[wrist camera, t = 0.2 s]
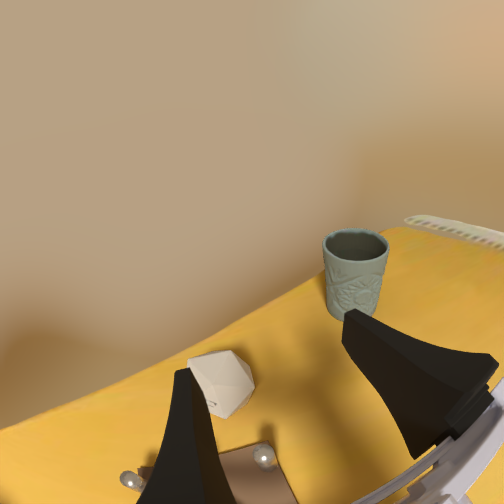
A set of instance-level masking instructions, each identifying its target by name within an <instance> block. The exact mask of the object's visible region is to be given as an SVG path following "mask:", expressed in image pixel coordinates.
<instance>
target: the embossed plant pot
mask: <svg viewBox="0 0 504 504" xmlns="http://www.w3.org/2000/svg"><path fill="white" fill-rule="evenodd" d="M322 247H323V258H324V263H325V277H326V279H325V281H326V285H327V286H326V292H327V293H326V301H327V308H328V311H329V313H330V314H331V315H332V316H333V317H334V318H336V319H338V320H340V321H343V322H344V313H345V312H348V311H350V310H352V309H354V308H356V309H358V310H359V311H361V312H363V313H365V314H367V315H369V316H372V315H373V313H374V311H375V309H376V306H377V302H378V298H379V293H380V289H381V285H382V276H383V274H384V272H385V266H386V263H387V258H388V254H389V243H388V241H387V240H386V239H385V238H384V237H383V236H382V235H380V234H378V233H376V232H374V231H371V230H367V229H360V228H347V229H341V230H338V231H334V232H332V233H330V234H328V235H327V236H326V237H325V238H324V240H323V243H322Z"/></svg>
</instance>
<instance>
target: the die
mask: <svg viewBox="0 0 504 504" xmlns="http://www.w3.org/2000/svg"><path fill="white" fill-rule="evenodd" d="M189 367H190V369H191V371H192V373H193V374H194V376H195V378H196V380H197V382H198V384H199V385H200V387H201V389H202V391H203V393H204V396H205V399H206V402H207V406H208V409H209V412H210V413H212V414H214V415H216V416H219V417H221V418H224V419H227V418H228V417H230V416H231V415H232V414H234V413H235V412H237V411H238V410H239V409H241V408H242V407H243V406H245V405H246V404H247V403H248V401H249V399H250V397H251V395H252V393H253V390H254V388H255V385H254V381H253V377H252V373H251V370H250V366H249V365H248V364H247V363H245V362H244V361H243V360H242V359H241V358H239V357H238V356H237V355H236V354H235V353H233V352H232V351H231V350H225V351H212V352H209V353H206V354H203V355H199V356H196V357H193V358H190V359H188V362H187V368H189Z"/></svg>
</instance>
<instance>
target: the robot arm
mask: <svg viewBox="0 0 504 504" xmlns="http://www.w3.org/2000/svg"><path fill="white" fill-rule="evenodd" d="M342 344H343V346H344V347H345V349H346V351H347V352H348V354H349V356H350V357H351V359H352V360H353V361H354V363H355V364H356V365H357V367H358V368H359V369H360V370H361V372H362V373H363V374H364V375H365V377H366V378H367V379H368V380H369V382H370V383H371V384H372V385H373V387H374V388H375V389H376V390H377V392H378V393H379V394H380V396H381V397H382V399H383V401H384V402H385V404H386V406H387V407H388V409H389V411H390V413H391V414H392V416H393V418H394V420H395V422H396V424H397V426H398V428H399V430H400V432H401V434H402V436H403V438H404V440H405V443H406V445H407V447H408V450H409V453H410V455H411V456H412V458H413V459H414V460H415V459H417V458H418V457H419V456H421V455H422V454H423V453H425V452H426V451H427V450H428V449H430V448H431V447H432V446H433V445H434V444H435V445H436V446H437V447H436V448H435V449H434V450H432V451H431V452H430V453H429V454H427V455H426V456H425V457H424V458H422V459H421V460H420V461H418V462H417V463H416V464H414V465H413V466H412V467H410V468H409V469H407V470H406V471H405V472H403V473H402V474H400V475H399V476H397V477H396V478H394V479H393V480H391V481H390V482H388V483H386V484H385V485H383V486H381V487H380V488H378V489H376V490H375V491H373V492H371V493H370V494H368V495H366V496H364V497H362V498H360V499H359V500H357V501H355V502H353V503H351V504H376V503H378V502H380V501H382V500H383V499H385V498H386V497H388V496H390V495H391V494H393V493H394V492H396V491H397V490H399V489H400V488H402V487H403V486H405V485H406V484H408V483H409V482H410V481H412V480H413V479H415V478H416V477H417V476H419V475H420V474H421V473H423V472H424V471H425V470H426V469H428V468H429V467H430V466H432V465H433V469H432V470H430V471H429V472H428V473H426V474H425V475H423V476H422V477H420V478H419V479H418V480H416V481H415V482H414V483H413V484H411V485H410V486H409V487H408V488H407V490H408V492H409V494H407V495H406V496H404V497H403V498H401V499H400V500H398V501H397V502H395V503H393V504H473V503H472V502H471V500H470V499H469V498H468V496H467V495H466V494H465V493H466V492H467V491H468V489H469V488H470V487H471V486H472V485H473V483H474V482H475V481H476V480H477V479H478V477H479V476H480V475H481V473H482V472H483V471H484V470H485V468H486V467H487V466H488V464H489V463H490V461H491V460H492V459H493V457H494V456H495V454H496V453H497V451H498V450H499V448H500V447H501V445H502V444H503V442H504V377H502V379H501V380H500V381H499V383H498V384H497V385H496V386H495V388H494V389H493V390H492V391H491V392H490V393H489V392H488V391H487V390H488V389H489V386H488V385H487V384H486V383H487V382H488V380H489V379H490V378H491V376H492V375H493V374H494V372H495V371H496V369H497V368H498V366H499V363H498V362H497V361H496V360H495V359H494V358H493V357H492V356H491V355H490V354H487V353H470V352H463V351H457V350H451V349H447V348H443V347H439V346H436V345H432V344H429V343H426V342H423V341H421V340H418V339H415V338H413V337H411V336H408V335H406V334H404V333H402V332H400V331H397V330H395V329H393V328H391V327H389V326H387V325H385V324H384V323H382V322H380V321H378V320H376V319H374V318H372V317H371V316H369V315H367V314H365V313H363V312H361V311H359V310H358V309H356V308H354V309H352V310H350V311H348V312H345V313H344V322H343V332H342ZM136 504H237V502H236V500H235V498H234V495H233V493H232V491H231V488H230V486H229V483H228V481H227V478H226V476H225V473H224V470H223V467H222V465H221V462H220V458H219V455H218V451H217V446H216V441H215V437H214V432H213V427H212V422H211V417H210V412H209V409H208V406H207V402H206V399H205V396H204V393H203V391H202V389H201V387H200V385H199V384H198V382H197V380H196V378H195V376H194V374H193V373H192V371H191V369H190V367H189V368H185V369H181V370H177V371H176V372H175V373H174V385H173V393H172V400H171V405H170V411H169V416H168V421H167V425H166V429H165V434H164V437H163V441H162V444H161V448H160V451H159V454H158V457H157V460H156V462H155V465H154V468H153V470H152V473H151V475H150V477H149V480H148V482H147V484H146V486H145V488H144V490H143V492H142V494H141V496H140V498H139V499H138V501H137V503H136Z"/></svg>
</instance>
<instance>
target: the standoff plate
mask: <svg viewBox="0 0 504 504" xmlns="http://www.w3.org/2000/svg"><path fill="white" fill-rule="evenodd" d="M261 444H267V445H269V446H270V444H269V442H268V440H267V441H264V442H261V443H258V444H255V445H252V446H249V447H246V448H242V449H239V450H235V451H232V452H228V453H224V454H220V455H219V458H220V462H221V465H222V467H223V470H224V473H225V476H226V478H227V481H228V483H229V486H230V488H231V491H232V493H233V495H234V498H235V500H236V502H237V504H297V502H296V500H295V498H294V496H293V494H292V492H291V490H290V488H289V486H288V483H287V481H286V479H285V477H284V475H283V473H282V471H281V468H280V466H279V464H278V466H277V468H276V469H275V470H274V471H272V472H264V471H262V470H261V469H260V468H259V466H258V464H257V463H256V461H255V459H254V458H253V455H252V453H253V450H254V448H255V447H256V446H258V445H261ZM153 468H154V467H147V468H137V469H138V476H140V477H142V478H144V479H146V480H147V481H148V480H149V477H150V475H151V473H152V470H153Z"/></svg>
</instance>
